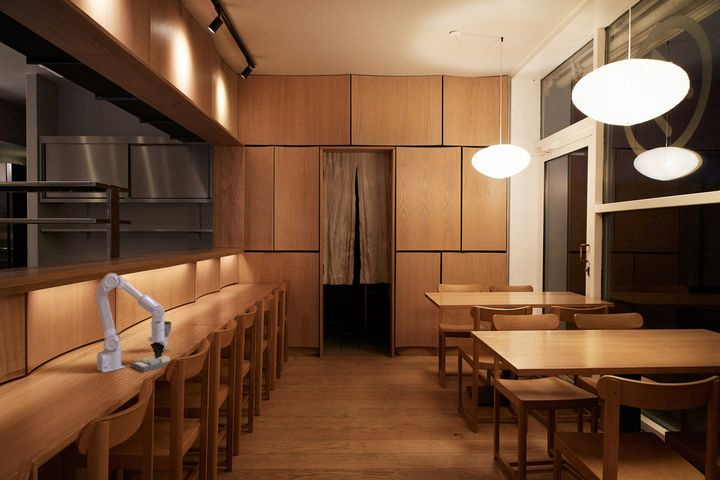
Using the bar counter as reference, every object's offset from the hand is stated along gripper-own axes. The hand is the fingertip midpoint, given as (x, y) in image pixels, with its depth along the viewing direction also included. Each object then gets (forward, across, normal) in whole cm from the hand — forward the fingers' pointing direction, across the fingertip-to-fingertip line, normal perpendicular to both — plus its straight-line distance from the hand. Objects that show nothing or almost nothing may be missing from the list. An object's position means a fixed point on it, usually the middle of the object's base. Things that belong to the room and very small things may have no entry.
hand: (158, 357), depth 218 cm
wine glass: (+3, +18, -12) cm, 22 cm away
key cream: (+1, 0, +5) cm, 5 cm away
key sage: (+2, 0, 0) cm, 2 cm away
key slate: (+1, -5, +5) cm, 7 cm away
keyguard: (+2, -3, +4) cm, 5 cm away
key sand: (+1, -5, 0) cm, 5 cm away
